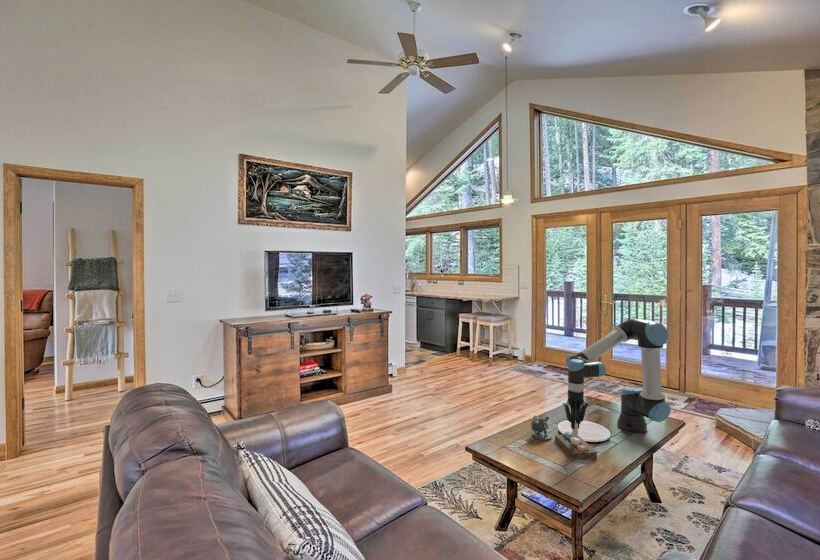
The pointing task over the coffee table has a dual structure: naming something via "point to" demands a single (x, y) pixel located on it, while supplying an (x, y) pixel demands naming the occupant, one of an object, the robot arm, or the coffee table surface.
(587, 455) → the button board
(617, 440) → the coffee table surface
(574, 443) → the button cream
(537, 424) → the figurine
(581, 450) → the button terracotta
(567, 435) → the button slate
